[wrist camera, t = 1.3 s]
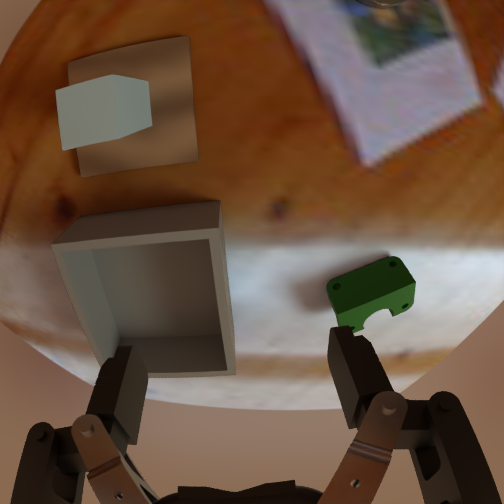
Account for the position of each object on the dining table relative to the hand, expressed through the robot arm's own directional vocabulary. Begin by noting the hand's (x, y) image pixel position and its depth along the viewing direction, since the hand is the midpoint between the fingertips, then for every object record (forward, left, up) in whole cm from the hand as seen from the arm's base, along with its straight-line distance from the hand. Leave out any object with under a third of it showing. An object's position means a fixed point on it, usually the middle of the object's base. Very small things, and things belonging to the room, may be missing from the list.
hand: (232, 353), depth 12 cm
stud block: (-10, -10, -26) cm, 29 cm away
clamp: (+16, +18, -26) cm, 35 cm away
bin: (+12, -10, -26) cm, 30 cm away
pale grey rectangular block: (-10, -10, -25) cm, 28 cm away
